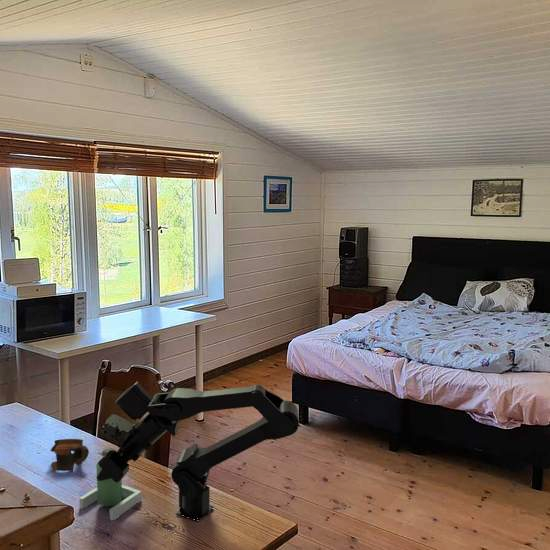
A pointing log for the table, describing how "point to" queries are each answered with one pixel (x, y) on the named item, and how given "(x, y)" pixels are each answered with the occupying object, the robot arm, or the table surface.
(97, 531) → the table surface
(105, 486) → the bottle
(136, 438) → the robot arm
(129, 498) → the u rest
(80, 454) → the pottery mug
